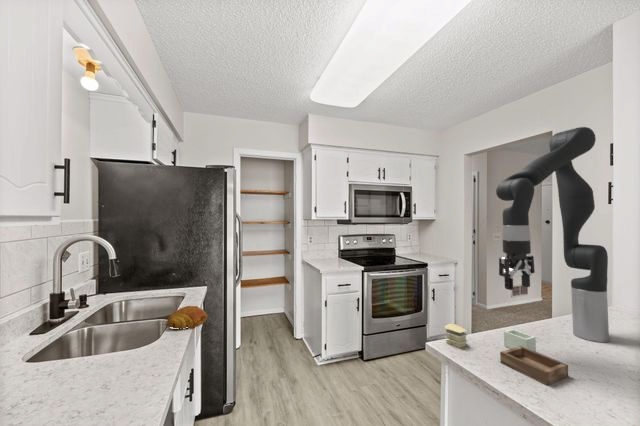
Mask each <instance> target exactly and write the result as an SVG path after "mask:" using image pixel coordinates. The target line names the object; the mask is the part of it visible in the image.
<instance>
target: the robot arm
mask: <svg viewBox="0 0 640 426" xmlns="http://www.w3.org/2000/svg"><path fill="white" fill-rule="evenodd" d="M595 144H596V134H595V132H594V131H593V129H591V128H590V127H587V126H579V127H575V128H572V129H567V130H564V131H559V132H556V133H554V134H553V135H552V136H551V137H550V139H549V152H547V153H546V154H543V155H541V156H539V157H537V158H535V159H534V160H532V161H531V162H529V164H527V165H526V166H525V167H524V168H522V169H521V170H520V171H518V172H516V173H513V174H511V175H510V176H508V177H506V178H505V179H502V180H501V182H500V183H498V185H497V187H496V190H495V194H496V197H497V198H498V199H500V200H501V201H506V202H508V201H509V202H510V201H511V202H512V203H511V206H510V207H507V208H504V209H503V211H502V230H501V233H502V235H501V236H502V238H501V240H502V252H503V253H504V254H506V257H499V258H498V264H499V265H498V275H499V276H501V277H503V278H504V288H505V289H506V290H509V291H513V290H514V278H513V277H514V276H515V274H516V273H517V272H518V271H519V273H520V274H521V276H520V277H521V286H522V287H524V288H529V287H531V277H530V276H532V274H535V271H536V270H535V260H534V259H535V258H534V255H531V251H532V249H531V248H532V247H531V231H530V223H529V222H530V221H529V211H530V209H531V206H532V202H533V199H534V195H535V187H536V186H539V185H540V184H541V183H542V182H543V181H545V180H546V179H547V178H548V177H550V176H551V175H552V174H553V173H554V174H555V178H556V184H557V192H558V201H559V202H558V203H559V211H560V215H561V222H562V233H563V234H562V235H563V236H562V237H563V241H562V243H563V259H564V261H565V264H566V266H567V267H568V268H571V269H578V270H585V271H590V272H589V275H587V276H583V277H577V278H576V277H575V278H572V279H571V280H570V288H571V291H570V293H571V310H572V311H571V313H572V334H573V335H575V336H576V337H578V338H581V339H584V340H587V341H592V342H597V343H600V342H601V343H607V342H609V341H610V331H609V330H610V327H609V308H608V307H609V305H608V304H609V303H608V302H609V301H608V267H609V266H608V264H609V263H608V262H609V258H608V257H609V255H608V251H607V249H606V248H605V246H603V245H598V244H586V243H585V244H583V243H580V242H579V236H580V232H581V230H582V228H583V226H584V225H585V224H586V222H587V221H588V220H589V219H590V218H591V216H592V214H593V213H594V211H595V207H596V206H595V199H594V198H595V197H594V191H593V188H592V186H591V185H590V184H589V183H588V182H587V181H586V180H585V179H584V178H583V177H582V176H581V175H580V174H579V173H578V172H577V170H576V169H575V168H574V167H575V166H574V165H573V160H575V159H577V158H578V157H580V156H582V155H584V154H586V153H588V152H589V151H590V150H592V149H593V147H594V146H595Z"/></svg>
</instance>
